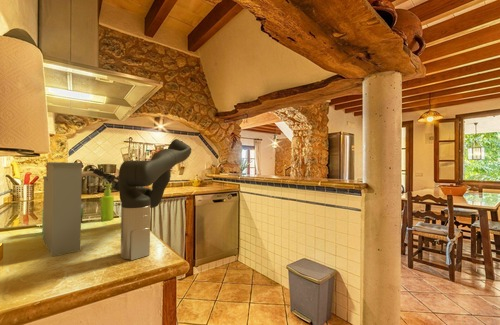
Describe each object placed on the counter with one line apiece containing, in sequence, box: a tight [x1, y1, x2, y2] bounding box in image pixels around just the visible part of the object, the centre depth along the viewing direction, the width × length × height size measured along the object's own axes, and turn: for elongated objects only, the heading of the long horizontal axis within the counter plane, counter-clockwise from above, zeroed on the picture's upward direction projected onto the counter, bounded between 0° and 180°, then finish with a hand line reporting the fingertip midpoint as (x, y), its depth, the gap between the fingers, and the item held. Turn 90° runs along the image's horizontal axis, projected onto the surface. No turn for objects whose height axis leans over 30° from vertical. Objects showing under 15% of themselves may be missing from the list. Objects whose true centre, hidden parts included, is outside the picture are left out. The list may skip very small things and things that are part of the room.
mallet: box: [45, 161, 99, 177], centre depth 100 cm, size 7×19×6 cm, turn 137°
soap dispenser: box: [100, 183, 115, 222], centre depth 127 cm, size 6×7×20 cm
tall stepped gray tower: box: [42, 161, 84, 258], centre depth 89 cm, size 26×8×32 cm, turn 47°
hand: (91, 170), depth 104 cm, fingers open, 8 cm apart
